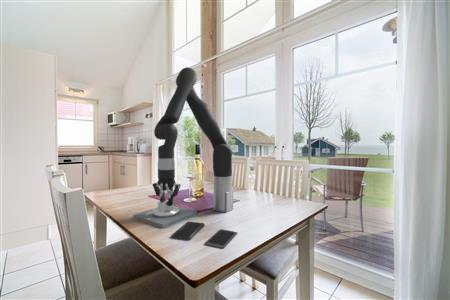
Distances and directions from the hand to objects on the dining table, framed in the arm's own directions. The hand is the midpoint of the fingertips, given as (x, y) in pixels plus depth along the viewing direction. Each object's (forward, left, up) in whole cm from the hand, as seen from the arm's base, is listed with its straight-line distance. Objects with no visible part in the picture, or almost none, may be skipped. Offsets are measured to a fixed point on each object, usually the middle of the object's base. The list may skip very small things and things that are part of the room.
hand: (166, 205), depth 100 cm
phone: (-20, +6, -6) cm, 22 cm away
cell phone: (-34, +4, -6) cm, 35 cm away
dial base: (0, 0, -5) cm, 5 cm away
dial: (0, +2, -4) cm, 4 cm away
